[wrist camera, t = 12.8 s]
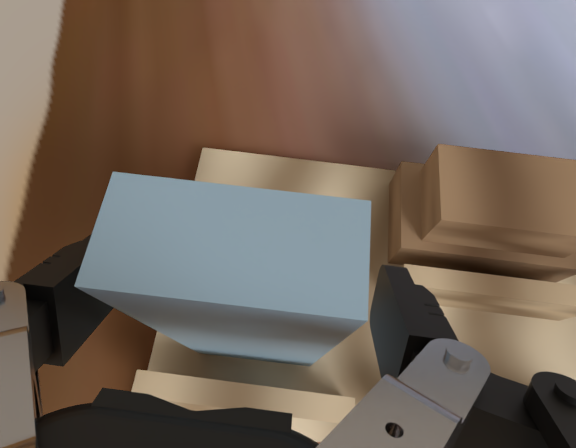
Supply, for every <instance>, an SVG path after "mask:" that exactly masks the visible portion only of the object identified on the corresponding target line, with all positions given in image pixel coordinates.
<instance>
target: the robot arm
mask: <svg viewBox="0 0 576 448" xmlns="http://www.w3.org/2000/svg"><path fill="white" fill-rule="evenodd" d="M91 235H92V234H91ZM91 235H89V236H88V237H87V238H85V239H84V240H83V241H79V242H76V243H73V244H71V245H68V246H65V247H63V248H62V249H60V250H59V251H58V252H56V253H55V254H53V256H52V257H49V258H47V259H46V260H45V261H43V264H42V263H40V264H39V265H37V266H36V267H34V268H33V269H32V270H30V271H29V272H27V273H26V274H24V275H23V276H22V277H20V278H19V279H17V280H16V281H14V282H9V281H0V448H576V380H574V379H572V378H570V377H567V376H565V375H562V374H558V373H554V372H547V371H546V372H538V373H536V374H534V375H533V377H532V379H531V381H530V383H529V386H527V385H524V384H521V383H518V382H515V381H512V380H509V379H507V378H504V377H501V376H498V375H496V374H493V373H491V368H490V365H489V363H488V361H487V360H486V358H485V357H484V356H483V355H482V354H481V353H479V352H478V351H477V350H475V349H474V348H472V347H471V346H469V345H467V344H465V343H462V342H459V340H458V338H457V337H456V335H455V333H454V331H453V329H452V327H451V326H450V324H449V322H448V320H447V318H446V317H445V316H444V313H443V311H442V309H441V308H440V305H439V303H438V301H437V300H436V298H435V296H434V295H433V294H432V293H431V292H430V291H429V290H427V289H426V288H425V287H424V286H423V285H417V284H414V282H413V280H412V278H411V275H410V273H409V271H408V269H407V268H406V267H398V266H390V265H381V267H380V269H379V273H378V278H377V282H376V287H375V291H374V296H373V300H372V305H371V310H370V329H371V334H372V339H373V343H374V348H375V352H376V357H377V361H378V366H379V371H380V375H381V380H380V381H379V382H378V383H377V384H376V385H375V386H374V387H373V388H372V389H371V390H370V391H369V392H368V393H367V394H366V395H365V396H364V397H363V398H362V400H361V401H360V402H359V403H358V404H357V405H356V406H355V407H354V408H353V409H352V410H351V411H350V412H349V413H348V414H347V415H346V416H345V417H344V418H343V419H342V421H341V422H340V423H339V424H338V425H337V426H336V427H335V428H334V429H333V430H332V431H331V432H330V433H329V434H328V435H327V436H326V437H325V438H324V439H323V440H322V442H321V443H320V444H318V443H317V442H315V441H314V440H312V439H311V438H309V437H307V436H305V435H303V434H301V433H299V432H297V431H294V430H292V429H291V427H292V413H285V412H278V411H270V410H263V409H256V408H248V407H240V408H227V409H214V410H201V411H194V410H189V409H186V408H184V407H181V406H179V405H176V404H173V403H171V402H168V401H166V400H163V399H160V398H158V397H155V396H153V395H150V394H145V393H137V392H130V391H123V390H115V389H108V388H102V389H101V391H100V392H99V394H98V395H97V397H96V398H95V400H94V401H93V403H87V404H81V405H75V406H71V407H67V408H63V409H60V410H57V411H54V412H51V413H48V414H46V415H44V416H43V408H42V399H41V389H40V380H39V373H38V369H39V368H40V367H41V366H42V365H43V364H49V365H57V366H64V365H65V364H66V363H67V361H68V360H69V359H70V358H71V357H72V356H73V354H74V353H75V352H76V351H77V350H78V349H79V347H80V346H81V345H82V344H83V343H84V342H85V340H86V339H87V338H88V337H89V336H90V335H91V333H92V332H93V331H94V330H95V329H96V328H97V326H98V325H99V324H100V323H101V322H102V321H103V319H104V318H105V317H106V316H107V315H108V314H109V312H110V311H111V310H112V309H113V307H112V306H110V305H108V304H106V303H104V302H102V301H100V300H98V299H97V298H95V297H93V296H91V295H89V294H87V293H85V292H84V291H82V290H80V289H78V288H76V287H74V285H75V282H76V279H77V276H78V273H79V270H80V267H81V265H82V262H83V259H84V256H85V253H86V250H87V247H88V244H89V241H90V238H91Z"/></svg>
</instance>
